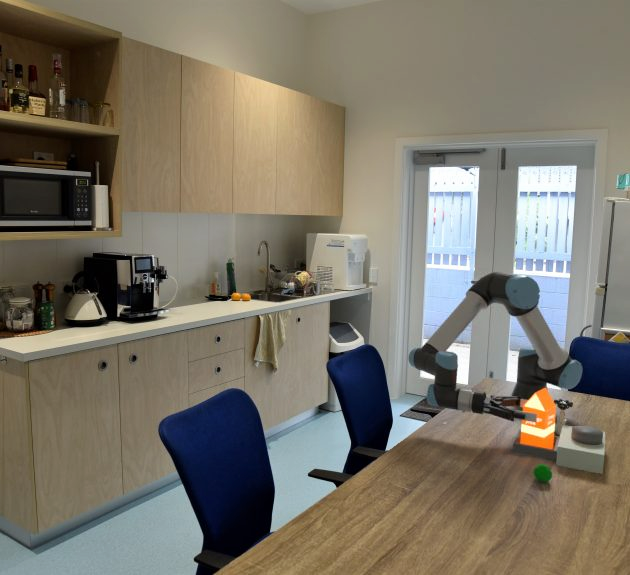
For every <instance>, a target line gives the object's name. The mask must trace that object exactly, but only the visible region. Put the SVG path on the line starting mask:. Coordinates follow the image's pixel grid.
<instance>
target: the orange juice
mask: <svg viewBox="0 0 630 575" xmlns="http://www.w3.org/2000/svg"><path fill="white" fill-rule="evenodd" d="M547 389H548V388H547ZM547 389H546V388H544V389H542V390H540V391H538V392H536V393H535V394H534V395H533V396H532V397H531V398H530V399H529V400H528V401H527V402H526V403H525V405H524V406H523V407H522V411H525V412H531V413H537V420H536V422H531V421H525V420H521V425H520V426H521V427H520V430H521V441H520V443H521V444H526V445H532V446H537V447H543V448H548V449H554V445H553V441H554V436H555V422H556V416H557V415H556V412H557V404H556V405H555V403H554V402H553V401H554V399H553V398H552V396H551V395H550V393H549V390H548V391H547Z"/></svg>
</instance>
